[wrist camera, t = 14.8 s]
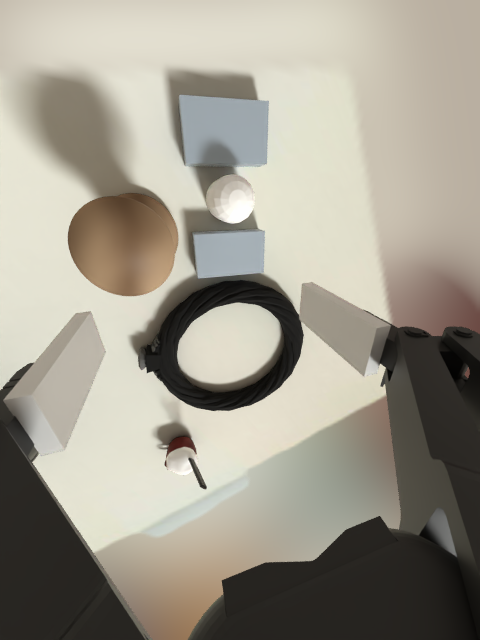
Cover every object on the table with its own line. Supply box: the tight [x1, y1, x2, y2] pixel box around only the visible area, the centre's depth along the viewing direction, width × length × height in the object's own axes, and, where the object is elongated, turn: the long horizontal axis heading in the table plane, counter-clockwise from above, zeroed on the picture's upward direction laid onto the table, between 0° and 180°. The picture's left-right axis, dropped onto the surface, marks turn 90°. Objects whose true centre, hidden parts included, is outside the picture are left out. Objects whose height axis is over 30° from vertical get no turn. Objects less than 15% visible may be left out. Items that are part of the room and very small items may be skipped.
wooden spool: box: [68, 193, 178, 296], centre depth 27 cm, size 10×10×12 cm
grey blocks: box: [179, 95, 269, 279], centre depth 32 cm, size 10×20×3 cm, turn 1°
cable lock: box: [138, 280, 304, 411], centre depth 43 cm, size 28×4×30 cm
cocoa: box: [165, 436, 207, 489], centre depth 47 cm, size 10×6×12 cm, turn 103°
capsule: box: [206, 174, 255, 224], centre depth 29 cm, size 5×5×8 cm
